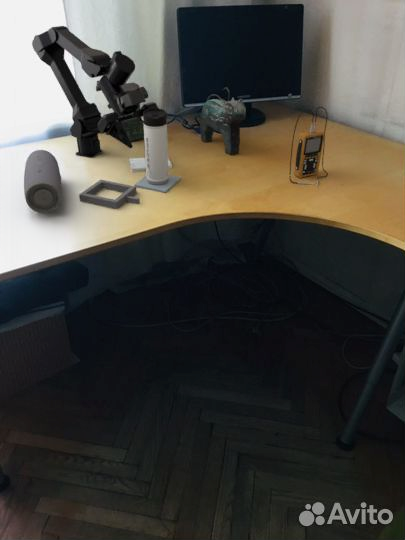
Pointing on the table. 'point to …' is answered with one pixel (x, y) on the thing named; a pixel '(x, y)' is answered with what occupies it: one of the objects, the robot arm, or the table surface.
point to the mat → (159, 188)
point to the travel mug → (156, 146)
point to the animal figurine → (223, 121)
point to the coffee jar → (133, 126)
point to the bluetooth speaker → (42, 182)
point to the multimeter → (309, 151)
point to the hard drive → (142, 164)
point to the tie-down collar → (106, 202)
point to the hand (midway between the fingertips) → (144, 143)
